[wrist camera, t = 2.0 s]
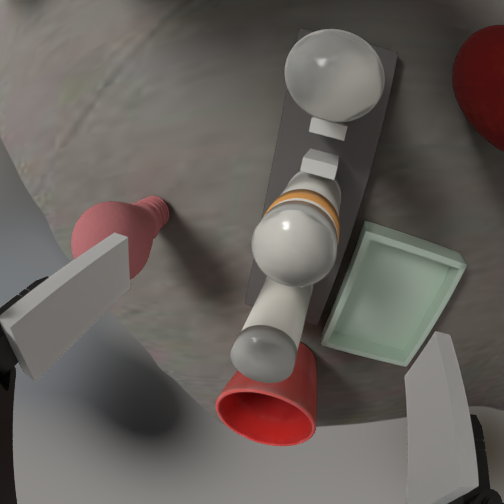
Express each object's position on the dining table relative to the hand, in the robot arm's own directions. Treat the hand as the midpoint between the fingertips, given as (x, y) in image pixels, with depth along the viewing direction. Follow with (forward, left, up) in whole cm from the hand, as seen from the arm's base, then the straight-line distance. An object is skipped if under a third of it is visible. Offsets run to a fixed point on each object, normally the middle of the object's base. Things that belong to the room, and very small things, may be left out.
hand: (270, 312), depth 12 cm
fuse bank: (0, 0, -17) cm, 17 cm away
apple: (-14, +12, -17) cm, 25 cm away
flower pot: (+21, +2, -17) cm, 27 cm away
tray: (+8, +10, -17) cm, 21 cm away
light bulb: (+6, -15, -17) cm, 24 cm away
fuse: (+9, 0, -16) cm, 18 cm away
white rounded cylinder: (-9, 0, -16) cm, 19 cm away
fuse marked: (0, 0, -16) cm, 16 cm away
